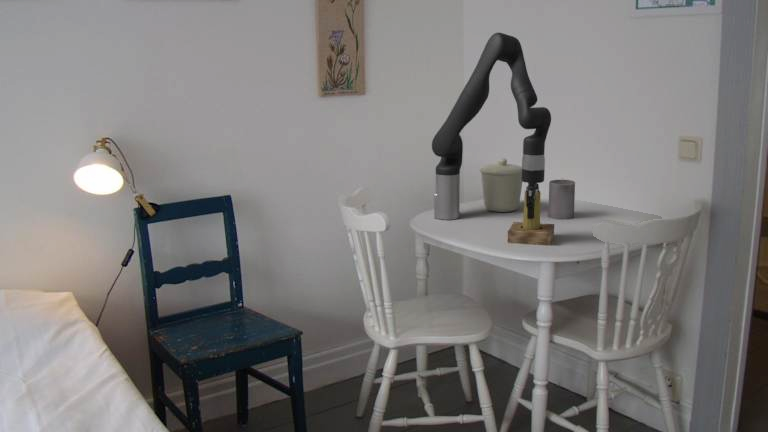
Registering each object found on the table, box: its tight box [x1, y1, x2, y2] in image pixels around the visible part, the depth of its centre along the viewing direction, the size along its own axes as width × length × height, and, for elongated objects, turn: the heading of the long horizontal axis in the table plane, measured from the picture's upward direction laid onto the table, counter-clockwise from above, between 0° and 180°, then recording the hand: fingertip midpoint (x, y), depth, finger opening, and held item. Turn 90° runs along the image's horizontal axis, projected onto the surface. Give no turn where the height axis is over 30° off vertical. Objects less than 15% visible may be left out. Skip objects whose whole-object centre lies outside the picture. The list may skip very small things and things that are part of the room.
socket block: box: [507, 221, 555, 246], centre depth 251 cm, size 14×14×4 cm
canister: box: [479, 157, 523, 213], centre depth 295 cm, size 18×18×21 cm
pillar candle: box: [547, 178, 576, 220], centre depth 282 cm, size 10×10×15 cm
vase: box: [522, 190, 541, 230], centre depth 250 cm, size 6×6×14 cm
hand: (531, 216), depth 250 cm, fingers closed on vase, 5 cm apart
